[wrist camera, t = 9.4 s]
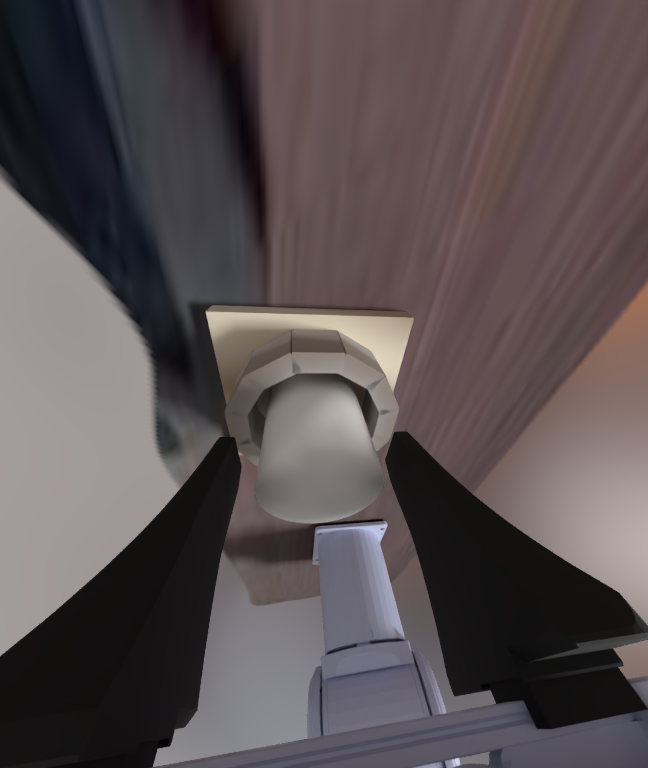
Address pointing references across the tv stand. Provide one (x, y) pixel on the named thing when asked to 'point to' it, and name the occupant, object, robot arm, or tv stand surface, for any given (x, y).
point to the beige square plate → (306, 361)
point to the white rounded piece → (316, 451)
